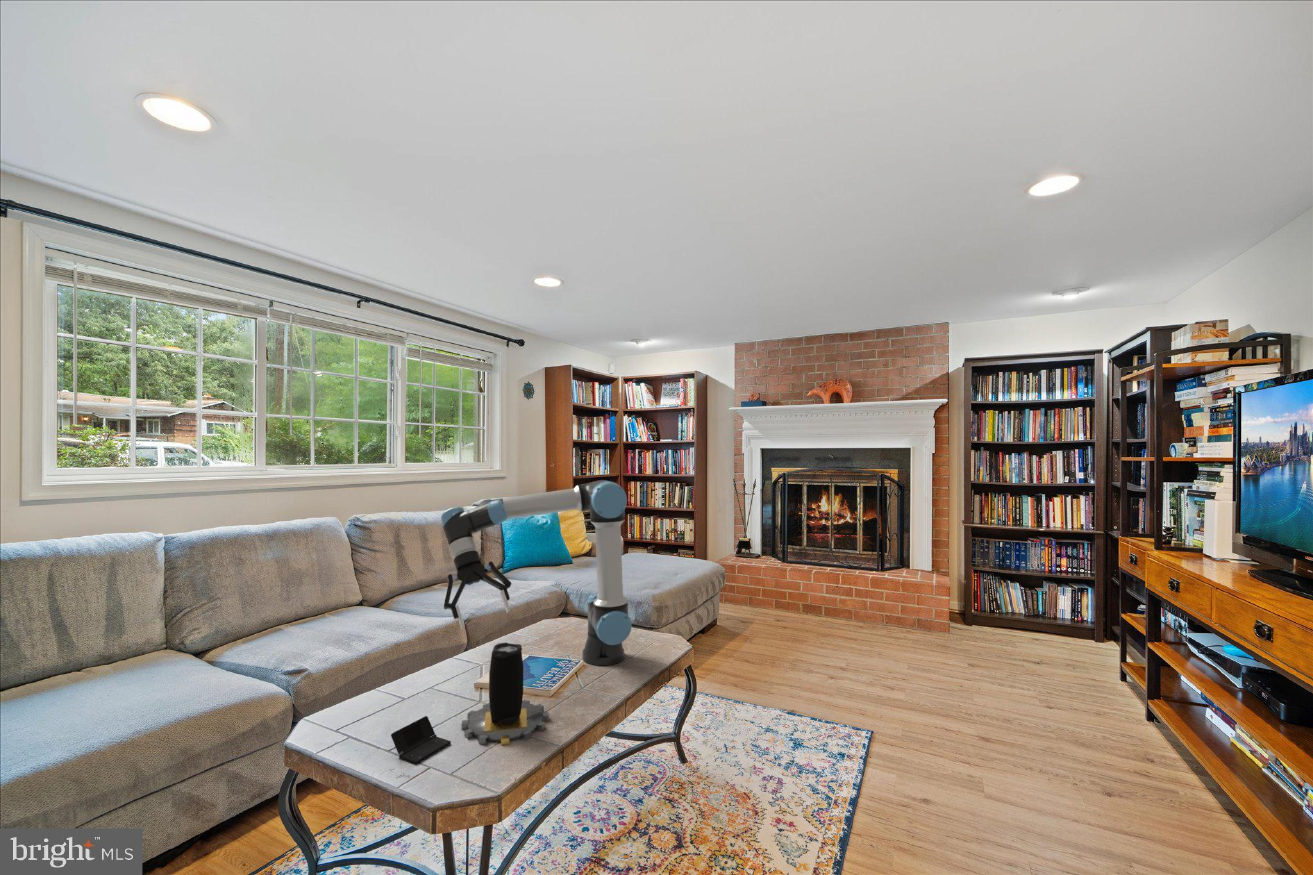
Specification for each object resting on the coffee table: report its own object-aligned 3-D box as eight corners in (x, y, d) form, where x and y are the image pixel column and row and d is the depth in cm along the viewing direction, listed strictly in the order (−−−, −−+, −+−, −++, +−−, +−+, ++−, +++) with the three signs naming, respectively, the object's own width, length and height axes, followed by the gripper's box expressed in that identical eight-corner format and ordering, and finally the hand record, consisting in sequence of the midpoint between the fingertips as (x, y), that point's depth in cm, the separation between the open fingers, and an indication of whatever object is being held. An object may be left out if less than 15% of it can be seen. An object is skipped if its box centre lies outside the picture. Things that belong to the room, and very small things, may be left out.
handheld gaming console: (424, 759, 135) (407, 720, 138) (402, 775, 136) (386, 735, 139) (455, 743, 146) (438, 707, 149) (434, 757, 147) (418, 721, 150)
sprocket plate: (465, 708, 165) (465, 702, 165) (546, 701, 170) (546, 695, 170) (457, 749, 142) (457, 742, 142) (550, 739, 148) (550, 732, 148)
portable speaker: (528, 713, 158) (529, 643, 158) (509, 729, 149) (511, 654, 150) (501, 708, 161) (503, 639, 161) (481, 724, 152) (483, 650, 152)
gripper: (503, 547, 186) (524, 608, 178) (423, 571, 174) (442, 638, 166) (506, 538, 180) (528, 601, 172) (423, 563, 168) (443, 632, 160)
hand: (486, 619), depth 169 cm, fingers open, 13 cm apart
